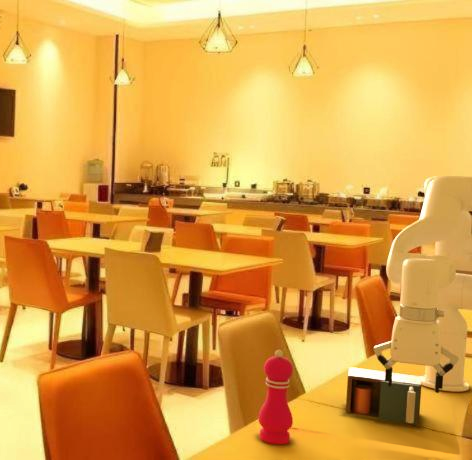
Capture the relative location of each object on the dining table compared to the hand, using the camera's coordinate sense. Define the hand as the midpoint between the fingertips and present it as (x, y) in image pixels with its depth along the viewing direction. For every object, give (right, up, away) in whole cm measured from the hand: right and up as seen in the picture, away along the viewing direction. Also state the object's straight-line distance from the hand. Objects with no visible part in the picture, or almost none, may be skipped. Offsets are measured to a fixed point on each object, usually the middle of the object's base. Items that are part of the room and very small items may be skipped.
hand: (412, 388), depth 171 cm
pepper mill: (-33, -10, -5) cm, 35 cm away
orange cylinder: (-6, -8, +13) cm, 17 cm away
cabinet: (-2, -9, +12) cm, 16 cm away
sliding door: (-2, -10, +4) cm, 11 cm away
